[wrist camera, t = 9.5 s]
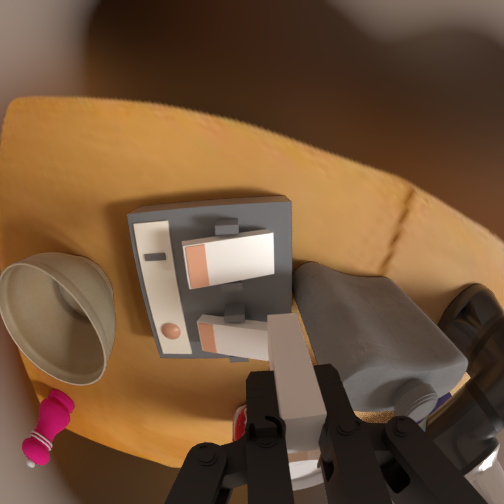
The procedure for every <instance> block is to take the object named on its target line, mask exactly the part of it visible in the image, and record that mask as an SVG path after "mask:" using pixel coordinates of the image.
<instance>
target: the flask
mask: <svg viewBox="0 0 504 504" xmlns="http://www.w3.org/2000/svg"><path fill="white" fill-rule="evenodd" d="M292 292H293V294H294V297H295V300H296V303H297V306H298V308H299V311H300V314H301V317H302V320H303V323H304V326H305V328H306V331H307V334H308V337H309V340H310V343H311V346H312V349H313V352H314V355H315V358H316V361H317V364H318V365H322V364H329V363H330V364H331V365H332V366H333V367H334V368H336V369H337V370H338V373H339V375H340V378H341V381H342V383H343V386H344V388H345V391H346V393H347V396H348V399H349V401H350V404H351V406H352V409H353V411H361V412H384V411H394V412H395V414H396V416H407V417H410V418H412V419H413V420H414V421H415V422H417V421H419V420H421V419H423V418H424V417H426V416H427V415H428V414H429V413H430V412H431V411H432V410H433V409H434V407H435V405H436V403H437V401H438V398H440V397H442V396H443V395H445V394H447V393H448V392H449V391H451V390H452V389H453V388H454V387H455V386H456V385H457V384H458V383H459V381H460V380H461V379H462V377H463V375H464V374H465V372H466V369H467V366H468V360H467V358H466V357H465V356H464V355H463V354H462V353H461V351H460V350H459V349H458V348H457V347H456V346H455V345H454V344H453V342H452V341H451V340H450V339H449V338H448V337H447V336H446V335H445V334H444V333H443V332H442V331H441V329H440V328H439V327H438V326H437V325H436V324H435V323H434V322H433V321H432V320H431V319H430V318H429V317H428V316H427V315H426V314H425V313H424V312H423V311H422V310H421V309H420V308H419V307H418V306H417V305H416V304H415V303H414V302H413V301H412V300H411V299H410V298H409V297H408V296H407V295H406V294H405V293H404V292H403V291H402V290H401V289H400V288H399V287H398V286H397V285H396V284H395V283H394V282H393V281H392V280H391V279H389V278H386V277H359V276H353V275H348V274H344V273H341V272H338V271H335V270H332V269H330V268H328V267H326V266H324V265H321V264H319V263H316V262H308V263H305V264H303V265H301V266H300V267H298V268H297V269H296V270H295V271H294V273H293V275H292Z"/></svg>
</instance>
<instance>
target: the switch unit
mask: <svg viewBox="0 0 504 504" xmlns="http://www.w3.org/2000/svg"><path fill="white" fill-rule="evenodd" d="M127 219H128V225H129V232H130V237H131V243H132V248H133V254H134V259H135V263H136V268H137V273H138V277H139V282H140V286H141V290H142V295H143V299H144V303H145V306H146V310H147V314H148V318H149V321H150V325H151V328H152V332H153V335H154V339H155V342H156V345H157V348H158V352H159V355H160V358H230V362H248V358H243V357H237V356H231V355H225V354H219V353H212V352H206V351H203V350H202V346H201V341H200V336H199V331H198V325H197V321H198V319H199V318H200V317H201V315H202V314H206V315H213V316H220V317H224V318H225V323H227V322H245V320H253V321H262V322H267V315H274V314H288V313H291V306H292V202H291V201H290V200H289V199H288V198H287V197H286V196H262V197H243V198H228V199H214V200H201V201H190V202H179V203H169V204H159V205H150V206H141V207H139V208H137V209H135V210H133V211H132V212H130V213H128V214H127ZM263 229H268V230H270V231H271V232H273V240H274V274H271V275H266V276H261V277H255V278H250V279H245V280H239V281H234V282H229V283H223V284H218V285H212V286H207V287H201V288H195V289H189V285H188V281H187V275H186V268H185V262H184V255H183V247H182V241H187V240H194V239H200V238H207V237H214V236H221V235H228V234H239V233H242V232H249V231H256V230H263Z"/></svg>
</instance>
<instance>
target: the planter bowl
mask: <svg viewBox="0 0 504 504" xmlns="http://www.w3.org/2000/svg"><path fill="white" fill-rule="evenodd" d="M0 313H1V316H2V319H3V321H4V324H5V326H6V328H7V330H8V332H9V334H10V335H11V337H12V338H13V340H14V342H15V343H16V345H17V346H18V347H19V349H20V350H21V351H22V352H23V353H24V355H25V356H26V357H27V358H28V359H29V360H30V361H31V362H32V363H33V364H35V365H36V366H37V367H38V368H40V369H41V370H42V371H44V372H45V373H47V374H48V375H50V376H52V377H54V378H56V379H58V380H60V381H62V382H65V383H69V384H72V385H79V386H83V385H90V384H93V383H95V382H97V381H98V380H99V379H100V378H101V377H102V375H103V374H104V372H105V369H106V366H107V362H108V358H109V356H110V353H111V350H112V347H113V343H114V338H115V330H116V315H115V308H114V303H113V290H112V286H111V284H110V281H109V279H108V277H107V276H106V274H105V273H104V272H103V270H102V269H101V268H100V267H99V266H98V265H97V264H96V263H94V262H93V261H91V260H90V259H88V258H85V257H82V256H73V255H70V254H66V253H61V252H44V253H39V254H35V255H32V256H29V257H27V258H25V259H23V260H21V261H18V262H15V263H13V264H11V265H9V266H8V267H7V268H5V270H4V271H3V272H2V274H1V276H0Z"/></svg>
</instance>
